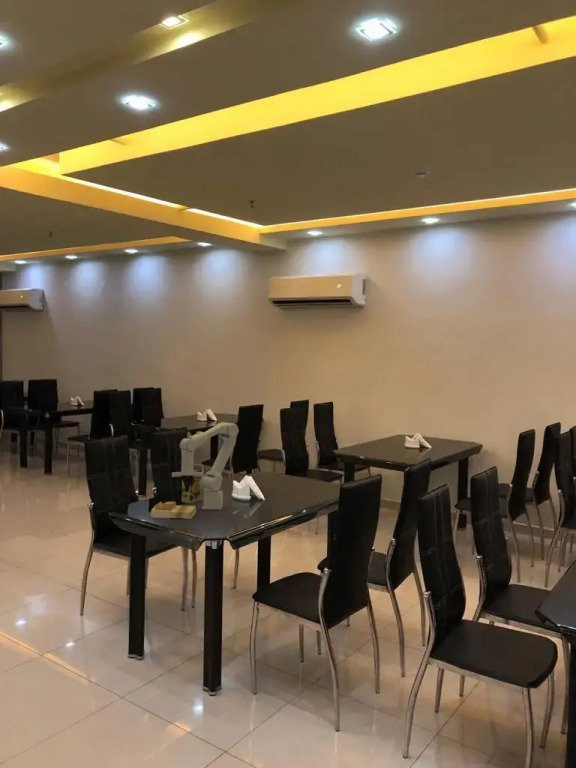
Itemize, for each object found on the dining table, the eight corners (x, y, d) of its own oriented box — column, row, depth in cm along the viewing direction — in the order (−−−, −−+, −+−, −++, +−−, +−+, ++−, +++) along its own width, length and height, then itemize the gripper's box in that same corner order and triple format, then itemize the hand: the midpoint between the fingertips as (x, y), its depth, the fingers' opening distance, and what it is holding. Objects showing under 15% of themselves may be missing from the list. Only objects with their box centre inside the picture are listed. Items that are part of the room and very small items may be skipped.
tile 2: (176, 507, 298) (175, 501, 298) (171, 509, 294) (171, 503, 294) (167, 506, 300) (167, 501, 300) (163, 509, 295) (163, 503, 295)
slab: (195, 512, 302) (196, 505, 301) (191, 518, 289) (191, 512, 288) (175, 511, 302) (175, 505, 302) (170, 518, 289) (170, 512, 289)
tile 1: (161, 501, 298) (156, 504, 298) (158, 503, 294) (154, 506, 294) (166, 509, 298) (161, 512, 298) (163, 511, 294) (159, 514, 294)
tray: (175, 511, 302) (175, 504, 301) (170, 518, 289) (170, 510, 289) (156, 511, 302) (157, 504, 301) (150, 518, 289) (150, 510, 289)
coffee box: (191, 503, 319) (191, 472, 318) (181, 502, 322) (181, 471, 322) (201, 500, 327) (202, 469, 326) (192, 498, 330) (192, 468, 330)
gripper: (201, 462, 305) (200, 489, 306) (171, 462, 302) (171, 490, 302) (203, 464, 298) (202, 492, 299) (172, 464, 295) (172, 493, 295)
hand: (186, 491), depth 300 cm, fingers closed
